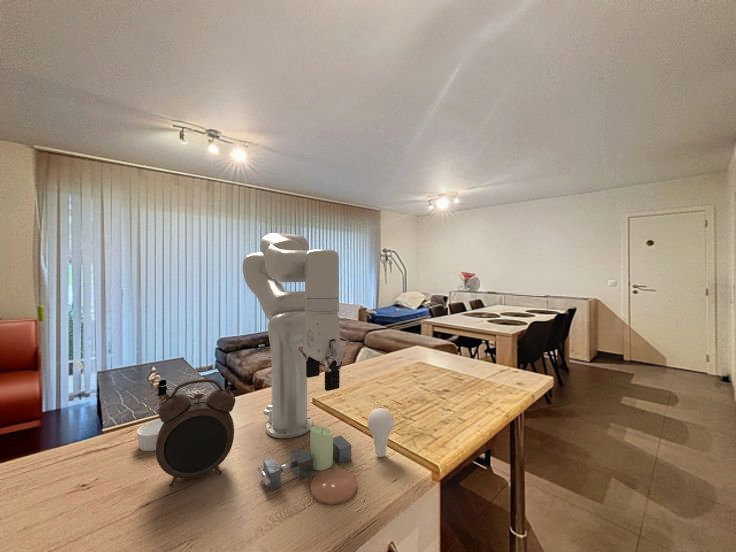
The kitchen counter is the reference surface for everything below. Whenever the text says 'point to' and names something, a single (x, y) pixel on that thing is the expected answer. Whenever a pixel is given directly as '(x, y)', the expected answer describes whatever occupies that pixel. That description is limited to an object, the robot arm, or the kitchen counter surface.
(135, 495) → the kitchen counter surface
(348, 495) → the coaster
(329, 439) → the candle
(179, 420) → the alarm clock
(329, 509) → the kitchen counter surface
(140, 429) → the ramekin
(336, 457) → the vise
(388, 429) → the lightbulb
